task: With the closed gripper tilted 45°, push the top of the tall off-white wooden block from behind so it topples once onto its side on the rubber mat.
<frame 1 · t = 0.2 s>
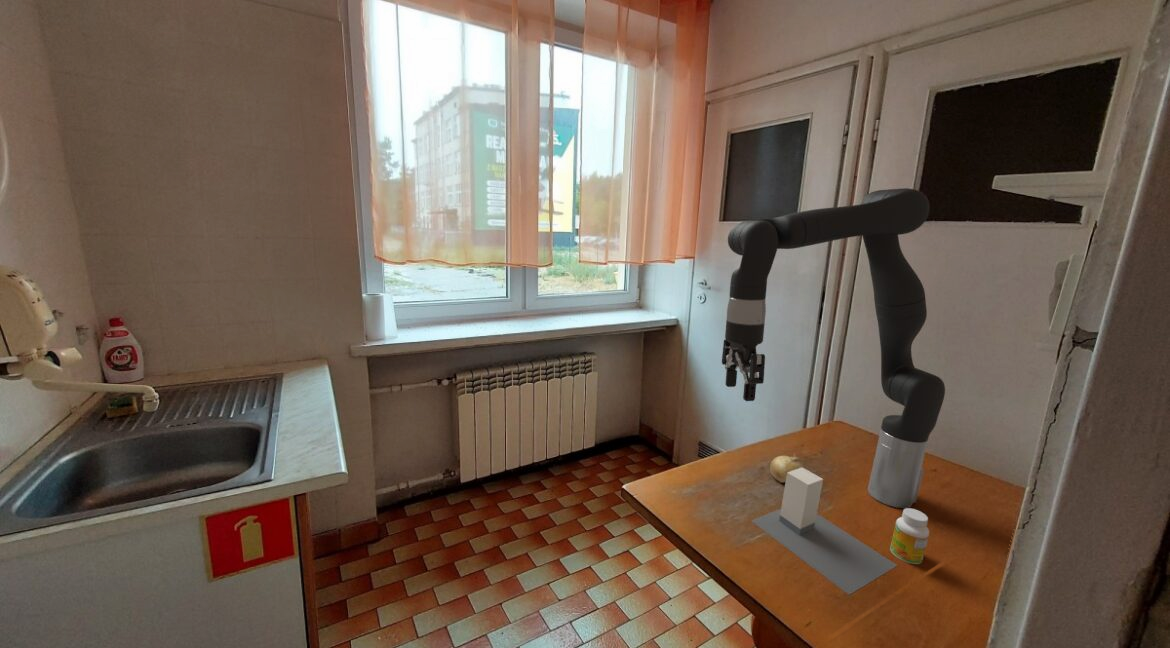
hand: (739, 393, 94), 29 cm above the table, tool pointing down, fingers open, 8 cm apart
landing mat: (819, 543, 91), on the table
onion: (784, 480, 114), on the table
tall block: (796, 524, 96), resting on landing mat
supplement bottle: (905, 556, 89), on the table
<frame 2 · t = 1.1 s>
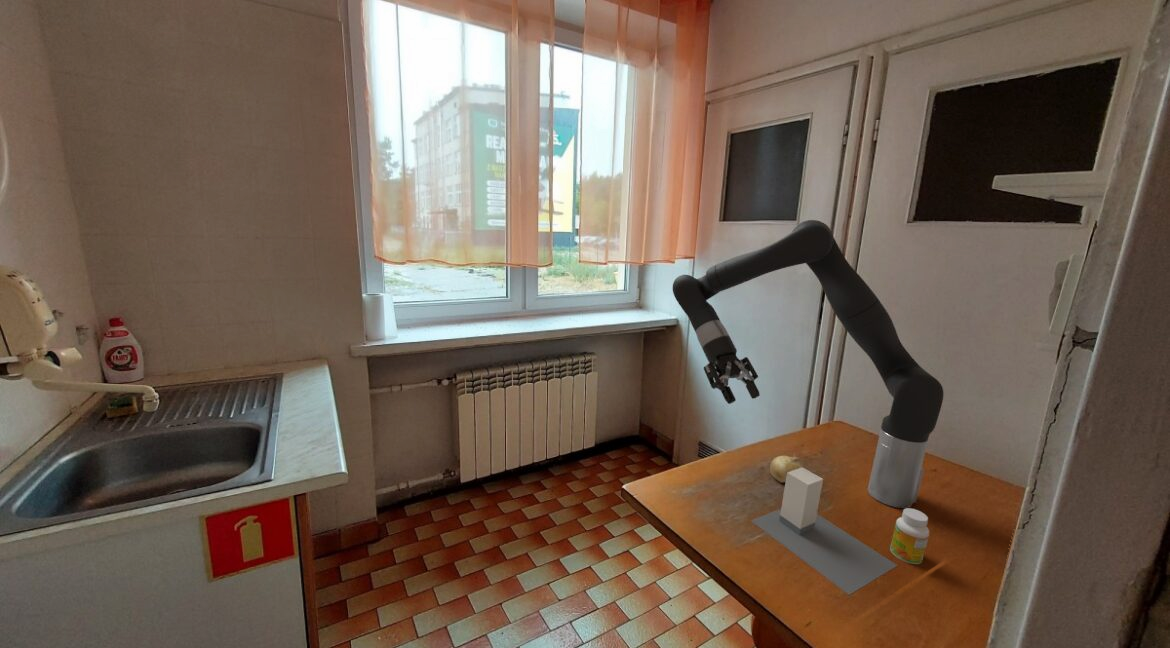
hand: (744, 399, 106), 23 cm above the table, tool tilted 45°, fingers open, 8 cm apart
nothing on the table moved.
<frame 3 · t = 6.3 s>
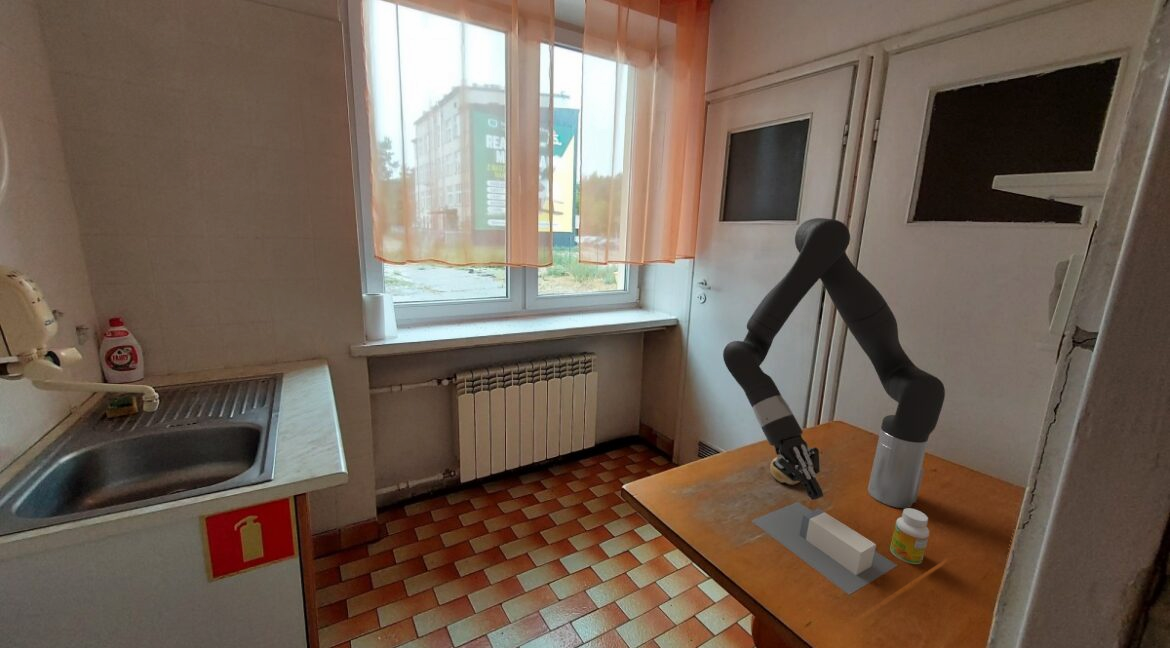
hand: (817, 498, 91), 9 cm above the table, tool tilted 45°, fingers closed
tall block: (808, 521, 94), point 3 cm above the table, tilted 90°, touching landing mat
everything else where it was.
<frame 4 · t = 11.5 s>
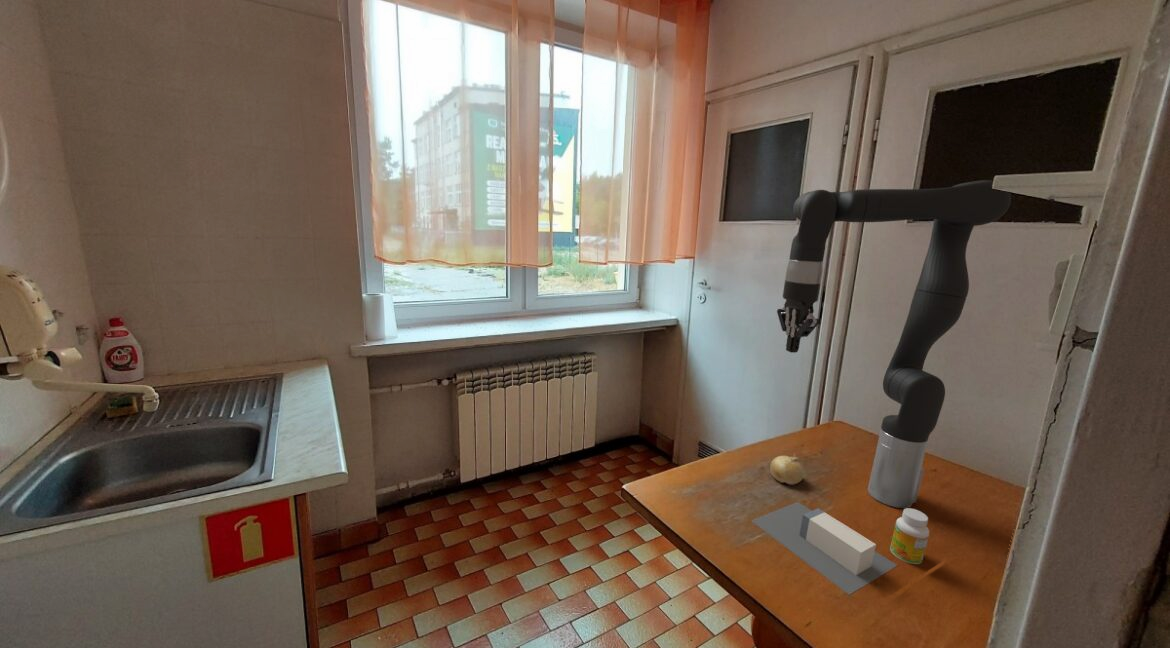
hand: (791, 351, 106), 35 cm above the table, tool pointing down, fingers closed
nothing on the table moved.
at the end: tall block tilted 90°; tall block touching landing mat; tall block inside the target area on the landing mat (3.2 cm from its centre), point 3.0 cm above the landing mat's base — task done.
